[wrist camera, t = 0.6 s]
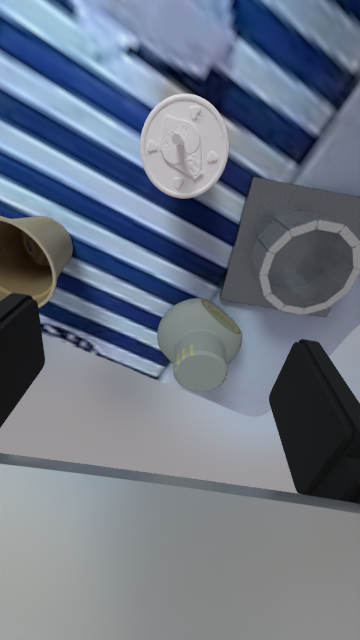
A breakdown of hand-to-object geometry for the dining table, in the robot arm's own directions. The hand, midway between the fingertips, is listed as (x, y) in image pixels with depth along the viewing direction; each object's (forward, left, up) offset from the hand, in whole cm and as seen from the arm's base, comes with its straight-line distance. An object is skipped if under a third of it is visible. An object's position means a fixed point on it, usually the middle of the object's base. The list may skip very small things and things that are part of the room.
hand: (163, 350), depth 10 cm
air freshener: (+14, +4, -25) cm, 28 cm away
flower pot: (+6, -16, -25) cm, 30 cm away
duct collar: (+2, +13, -24) cm, 28 cm away
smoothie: (-6, -1, -25) cm, 25 cm away
